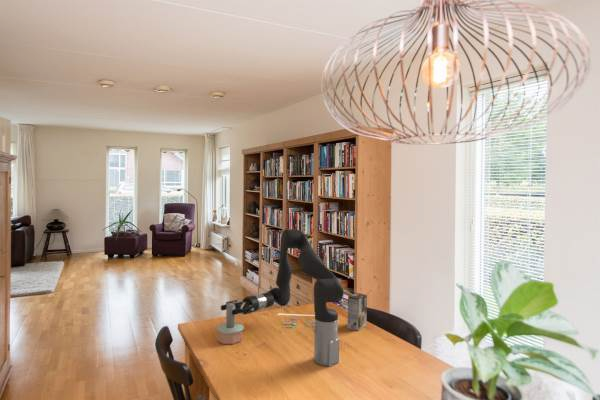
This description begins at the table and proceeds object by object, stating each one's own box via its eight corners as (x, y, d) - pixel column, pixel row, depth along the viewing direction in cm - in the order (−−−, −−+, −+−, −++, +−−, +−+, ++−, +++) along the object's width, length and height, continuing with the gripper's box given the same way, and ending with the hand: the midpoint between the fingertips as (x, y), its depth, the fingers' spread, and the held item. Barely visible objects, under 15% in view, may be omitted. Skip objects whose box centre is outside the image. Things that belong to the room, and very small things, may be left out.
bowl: (246, 340, 180) (246, 329, 180) (227, 346, 173) (227, 335, 173) (232, 333, 188) (232, 323, 187) (213, 339, 180) (213, 328, 180)
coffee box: (355, 323, 205) (356, 292, 205) (366, 326, 202) (367, 294, 201) (346, 328, 198) (347, 296, 197) (358, 331, 194) (359, 298, 194)
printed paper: (331, 316, 216) (331, 313, 216) (330, 338, 186) (330, 335, 186) (277, 313, 219) (277, 311, 219) (267, 335, 189) (267, 332, 189)
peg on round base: (249, 329, 181) (249, 305, 180) (227, 336, 172) (227, 310, 171) (232, 322, 189) (232, 299, 188) (211, 328, 180) (211, 304, 179)
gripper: (245, 292, 195) (217, 298, 183) (264, 298, 185) (236, 305, 173) (245, 307, 195) (217, 314, 183) (264, 314, 185) (236, 322, 174)
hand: (226, 310), depth 178 cm, fingers open, 8 cm apart
